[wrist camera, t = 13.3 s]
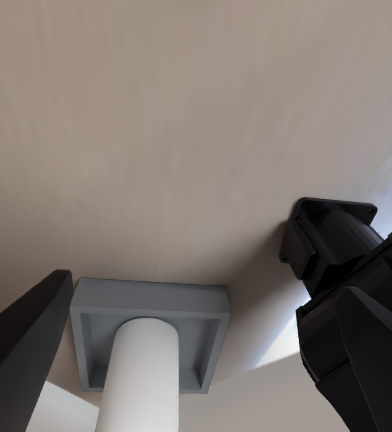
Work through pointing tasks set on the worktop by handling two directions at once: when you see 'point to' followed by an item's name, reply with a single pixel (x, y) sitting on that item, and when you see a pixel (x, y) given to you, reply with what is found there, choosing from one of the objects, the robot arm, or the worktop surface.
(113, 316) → the tray
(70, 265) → the worktop surface
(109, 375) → the can
